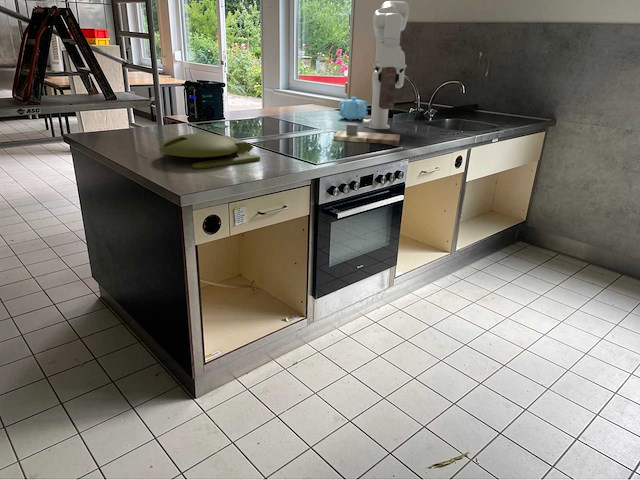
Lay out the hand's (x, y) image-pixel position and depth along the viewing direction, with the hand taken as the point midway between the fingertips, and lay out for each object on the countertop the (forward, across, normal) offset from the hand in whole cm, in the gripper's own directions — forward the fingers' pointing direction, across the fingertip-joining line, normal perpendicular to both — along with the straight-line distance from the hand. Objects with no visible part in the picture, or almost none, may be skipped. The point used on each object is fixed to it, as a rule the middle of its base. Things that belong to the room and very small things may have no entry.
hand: (388, 82), depth 232 cm
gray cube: (+26, -16, 0) cm, 30 cm away
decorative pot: (+28, -23, +64) cm, 74 cm away
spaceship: (+29, -68, -64) cm, 97 cm away
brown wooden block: (+13, 0, 0) cm, 13 cm away
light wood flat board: (+28, -8, 0) cm, 29 cm away
